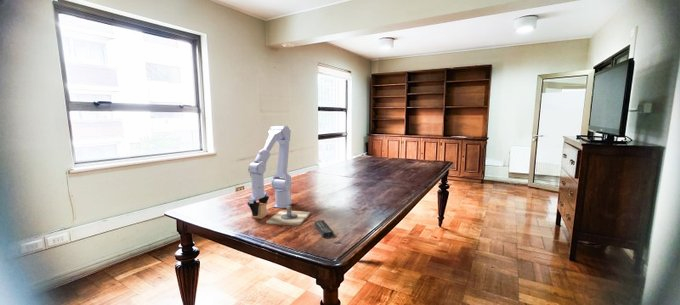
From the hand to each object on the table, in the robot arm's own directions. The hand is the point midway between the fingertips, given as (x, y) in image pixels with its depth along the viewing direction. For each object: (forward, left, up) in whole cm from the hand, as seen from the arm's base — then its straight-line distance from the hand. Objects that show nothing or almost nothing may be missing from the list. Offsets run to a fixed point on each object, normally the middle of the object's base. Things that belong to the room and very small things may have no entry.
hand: (259, 213), depth 142 cm
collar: (0, 0, -2) cm, 2 cm away
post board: (0, +16, -2) cm, 16 cm away
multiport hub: (+11, +37, -2) cm, 38 cm away
